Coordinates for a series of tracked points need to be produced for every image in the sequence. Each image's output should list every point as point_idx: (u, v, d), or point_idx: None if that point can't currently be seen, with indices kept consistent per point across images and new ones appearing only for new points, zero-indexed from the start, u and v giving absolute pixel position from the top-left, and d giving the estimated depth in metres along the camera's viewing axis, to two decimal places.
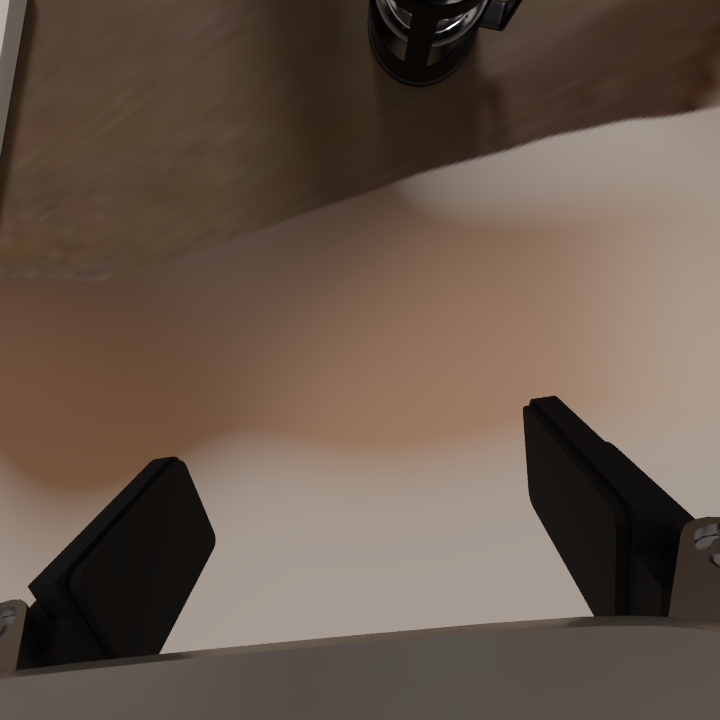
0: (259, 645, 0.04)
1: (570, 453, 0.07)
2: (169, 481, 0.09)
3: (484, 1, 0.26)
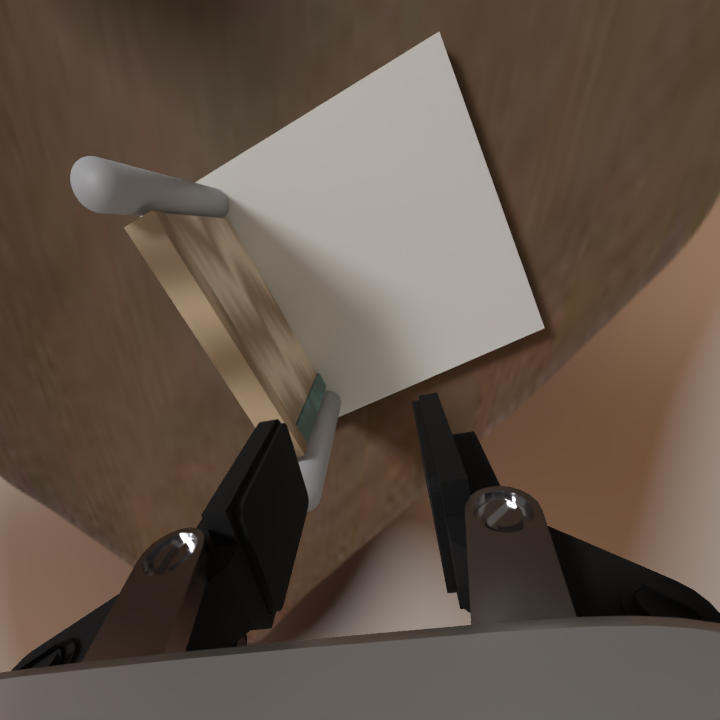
0: (259, 645, 0.04)
1: (423, 439, 0.08)
2: (280, 440, 0.10)
3: None
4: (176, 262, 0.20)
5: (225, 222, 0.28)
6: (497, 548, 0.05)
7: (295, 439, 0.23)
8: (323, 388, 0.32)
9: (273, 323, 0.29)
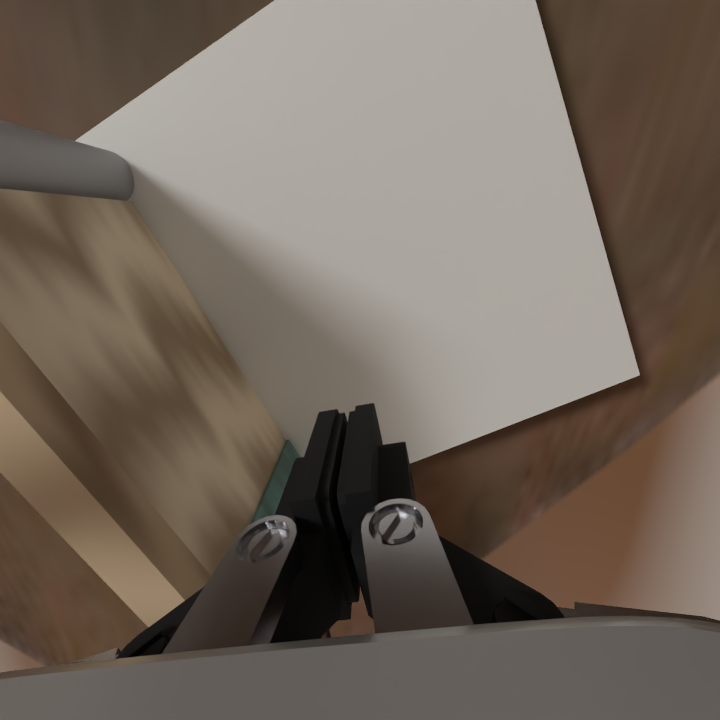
0: (259, 645, 0.04)
1: (346, 451, 0.08)
2: (343, 429, 0.10)
3: None
4: None
5: (121, 207, 0.17)
6: (394, 562, 0.06)
7: None
8: None
9: (205, 375, 0.17)
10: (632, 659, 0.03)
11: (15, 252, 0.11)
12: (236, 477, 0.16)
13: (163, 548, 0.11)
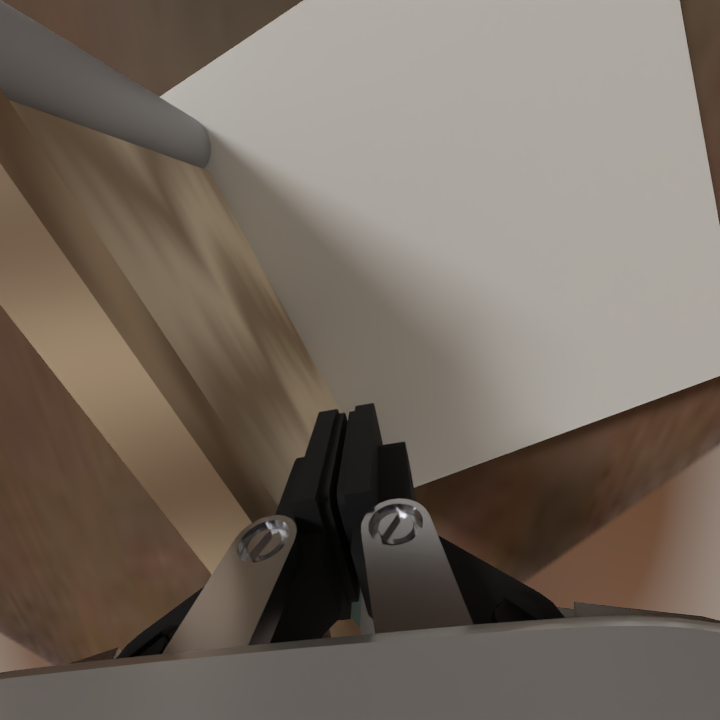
0: (259, 645, 0.04)
1: (346, 451, 0.08)
2: (343, 429, 0.10)
3: None
4: (27, 231, 0.07)
5: (202, 175, 0.15)
6: (394, 562, 0.06)
7: None
8: None
9: (288, 360, 0.16)
10: (633, 659, 0.03)
11: (125, 205, 0.10)
12: None
13: None
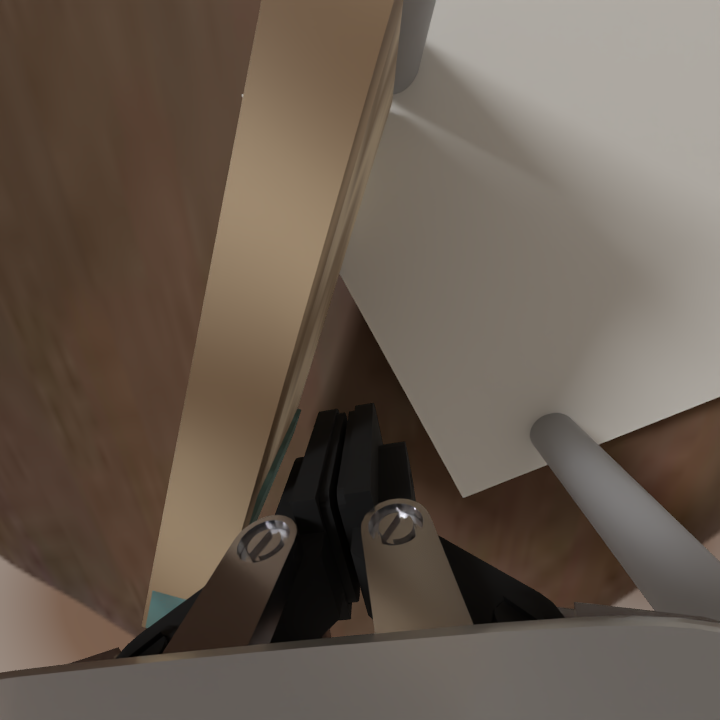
0: (259, 645, 0.04)
1: (346, 450, 0.08)
2: (343, 429, 0.10)
3: None
4: (350, 62, 0.05)
5: (390, 103, 0.14)
6: (394, 562, 0.06)
7: None
8: (290, 438, 0.19)
9: (320, 316, 0.15)
10: (632, 659, 0.03)
11: None
12: (279, 435, 0.14)
13: (252, 503, 0.09)
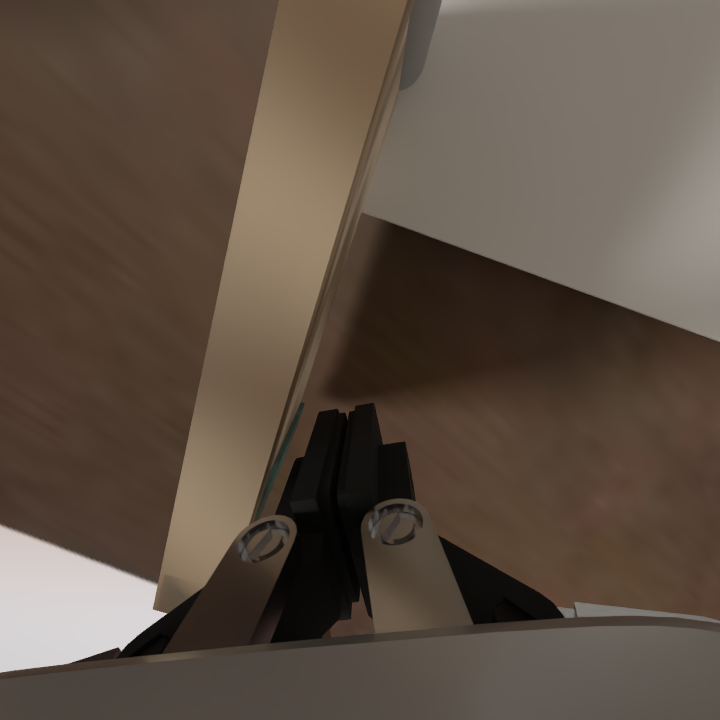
0: (259, 645, 0.04)
1: (346, 451, 0.08)
2: (343, 429, 0.10)
3: None
4: (364, 59, 0.06)
5: (395, 99, 0.14)
6: (394, 562, 0.06)
7: None
8: (294, 431, 0.19)
9: (325, 310, 0.15)
10: (632, 659, 0.03)
11: None
12: (285, 426, 0.14)
13: (261, 490, 0.09)
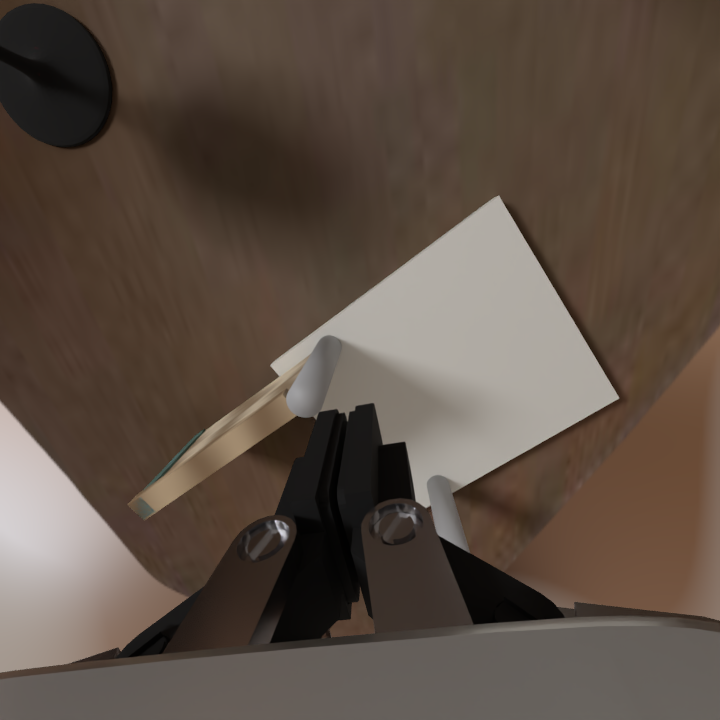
0: (259, 645, 0.04)
1: (346, 451, 0.08)
2: (343, 429, 0.10)
3: None
4: (267, 430, 0.26)
5: None
6: (394, 562, 0.06)
7: (154, 512, 0.29)
8: None
9: None
10: (632, 659, 0.03)
11: None
12: None
13: None
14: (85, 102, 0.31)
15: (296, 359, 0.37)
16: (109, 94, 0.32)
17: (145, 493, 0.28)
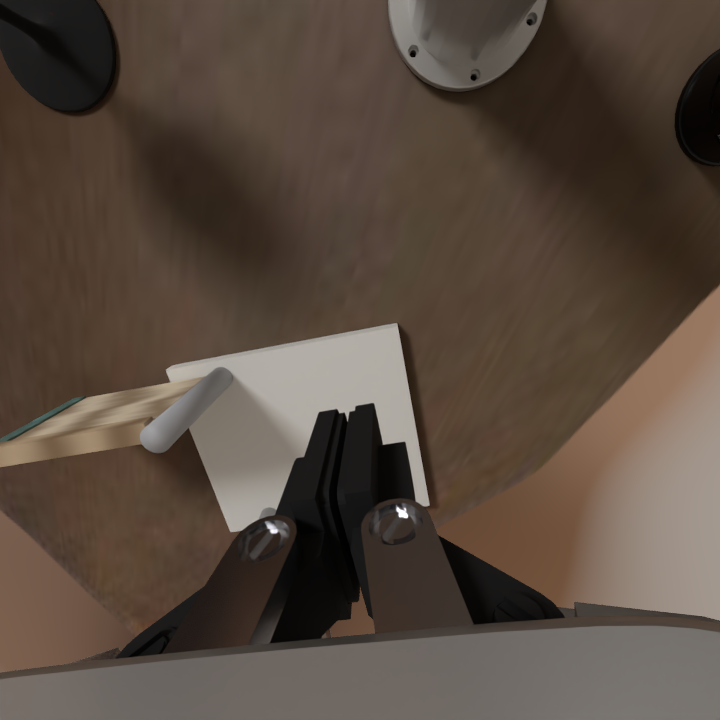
0: (259, 645, 0.04)
1: (346, 451, 0.08)
2: (343, 429, 0.10)
3: None
4: (120, 443, 0.31)
5: None
6: (394, 562, 0.06)
7: None
8: None
9: None
10: (632, 659, 0.03)
11: None
12: None
13: None
14: (81, 82, 0.33)
15: (190, 374, 0.41)
16: (107, 85, 0.33)
17: None
